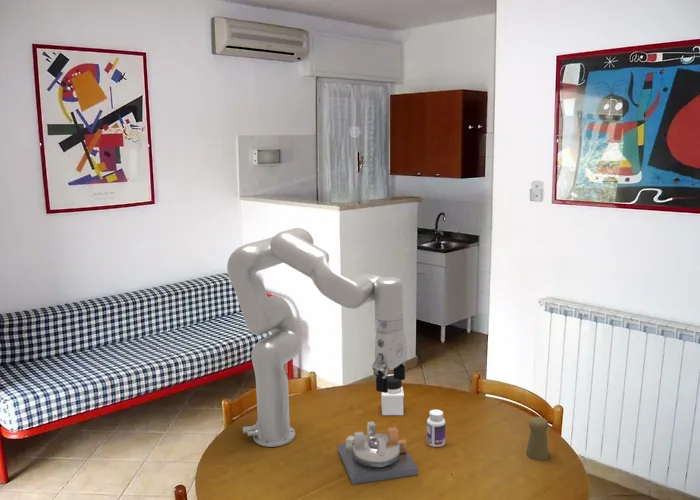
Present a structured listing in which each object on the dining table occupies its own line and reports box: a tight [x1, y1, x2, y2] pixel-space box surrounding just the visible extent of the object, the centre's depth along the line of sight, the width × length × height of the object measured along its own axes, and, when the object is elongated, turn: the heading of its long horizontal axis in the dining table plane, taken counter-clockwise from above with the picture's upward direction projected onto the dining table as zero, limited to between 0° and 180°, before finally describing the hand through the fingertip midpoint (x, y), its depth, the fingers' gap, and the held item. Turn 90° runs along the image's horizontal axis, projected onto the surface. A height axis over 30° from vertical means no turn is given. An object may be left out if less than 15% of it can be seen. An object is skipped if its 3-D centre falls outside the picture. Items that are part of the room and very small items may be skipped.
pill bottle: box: [426, 409, 446, 448], centre depth 178 cm, size 5×5×10 cm
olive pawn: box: [525, 416, 550, 462], centre depth 170 cm, size 6×6×11 cm
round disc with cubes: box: [353, 420, 408, 467], centre depth 167 cm, size 15×13×7 cm
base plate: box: [337, 435, 419, 485], centre depth 168 cm, size 18×18×6 cm
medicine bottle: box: [380, 373, 405, 416], centre depth 199 cm, size 7×7×12 cm
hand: (390, 385), depth 163 cm, fingers open, 9 cm apart
